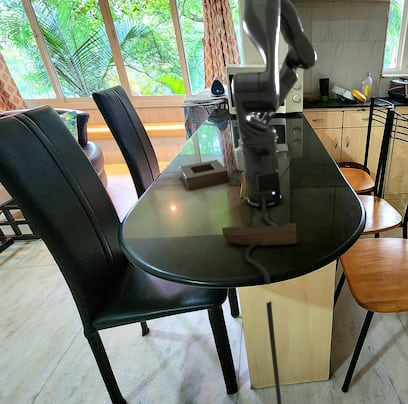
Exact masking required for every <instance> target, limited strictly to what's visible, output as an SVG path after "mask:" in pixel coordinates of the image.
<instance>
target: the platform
mask: <svg viewBox="0 0 408 404" xmlns="http://www.w3.org/2000/svg"><path fill="white" fill-rule="evenodd" d="M276 138H277V139H278V138H279V135H276ZM289 151H290V150H289V147H288V144H287V143H277V153H278V152H289Z"/></svg>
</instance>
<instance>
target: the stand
mask: <svg viewBox="0 0 408 404" xmlns="http://www.w3.org/2000/svg"><path fill="white" fill-rule="evenodd" d="M179 170H180V175H181V178H182V181H183V182H184V184H185V186H186V187H187V189H188V191H191V190H196V189H201V188H205V187H210V186H215V185H219V184H224V183H228V182H230V178H229V172H228V171H229V170H228V169H227V168H226V167H225V166H224V165H223V164H222V163H221V162H220V161H219V160H218V159H213V160H208V161H203V162H198V163H192V164H186V165H180V166H179Z"/></svg>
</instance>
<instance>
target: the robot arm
mask: <svg viewBox="0 0 408 404" xmlns="http://www.w3.org/2000/svg"><path fill="white" fill-rule="evenodd" d="M298 13H299V12H298V11H297V9H296V7H295V5H294V4H293V2H291V1H290V0H243V13H242V16H243V17H242V26H243V30H244V32H245V34H246V36H247V38H248V39H249V41H250V42H251V44H252V45H253V47H254V48H255V49H256V51H257V53H258V54H259V56H260V58H261V60H262V61H263V64H264V70H263V71H261V70H260V71H240V72H236V73H235V74H234V75H233V77H232V81H231V92H232V99H233V100H232V101H233V105H234V110H235V115H236V123H237V129H238V133H239V140H241V148H242V156H243V164H244V180H245V187H246V192H247V193H246V195H247V203H248V204H249V205H250V206H252V207H257V208H259V209H262V217H263V220H264V221H265V222H266V223H267V224H268V225H269V226H279V225H278V224H276V223H275V222H273V221H271V220H270V219H269V217H268V215H267V207H268V208H269V207H271V206H276V205H280V204H281V203H282V195H281V184H280V183H281V182H280V171H279V157H278V156H279V155H278V152H277V144H278V142H277V140H278V138H276V136H277V130H276V128H275V127H274V126H272V125H269V123H270V122H271V121H272V119H273V118H274V116H275V113H277V112H278V110H279V109H280V107H281V106H282V104H283V103H284V102H285V100H286V99H287V98H288V95H289V94H290V92H291V91H292V90H293V88H294V87H295V85H296V84H297V82H298V80H299V77H298V74H297V70H298V69H300V70H304V71H309V70H311V69H312V68H314V67H315V65H316V62H317V53H316V49H315V47H314V45H313V44H312V42H311V40H310V38H309V37H308V36H307V34H306V32H305V31H304V27H303V25H302V22H301V19H300V16H299V14H298ZM280 34H281V37H282V39H283V42H285V44H287V45H288V46H290V48H289V50H288V51H287V53H286V55H285V57H284V59H283V62H282V65H281V67H280V61H279V60H280V59H279V57H280V55H279V54H280V53H279V50H280V49H279V47H280ZM259 246H261V245H260V242H255V243H253V244H252V245H248V247H246V250H245V252H244V259H245V261H246V262H247V263H249V264H251V265H253V266H254V267H255V268H257V269H258V270H259V271H260V273H261V274H262V276H263V278H264V282H265V284H266V285H271V284H272V283H271V279H270V275H269V274H268V271H267V270H266V268H265V267H264V266H263V264H261V263H259V262H258V261H257V260H255V259H253V258H252V257H251V256H250V253H251V251H252V250H253V249H254V248H256V247H259ZM266 312H267V313H266V314H267V315H266V316H267V322H268V323H267V325H268V332H269V341H270V342H269V343H270V349H271V350H270V351H271V359H272V369H273V377H274V378H273V379H274V386H275V394H276V403H277V404H282V396H281V385H280V377H279V367H278V358H277V348H276V338H275V337H276V336H275V329H274V327H275V326H274V318H273V306H272V300H270V301H268V302H266Z"/></svg>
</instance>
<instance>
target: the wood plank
mask: <svg viewBox="0 0 408 404" xmlns="http://www.w3.org/2000/svg"><path fill="white" fill-rule="evenodd" d="M221 229H222V236H223V238H224V240H226V242H227V243H236V244H238V245H239V244H240V245H246V246H250V245H252V244H253V243H255V242H260V245H259V246H281V245H296V244H297V243H298V241H297V222H290V223H286V224H280V225H278V226H271V225H268V226H256V227H246V226H245V227H241V226H240V227H239V226H226V227H222V228H221Z"/></svg>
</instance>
